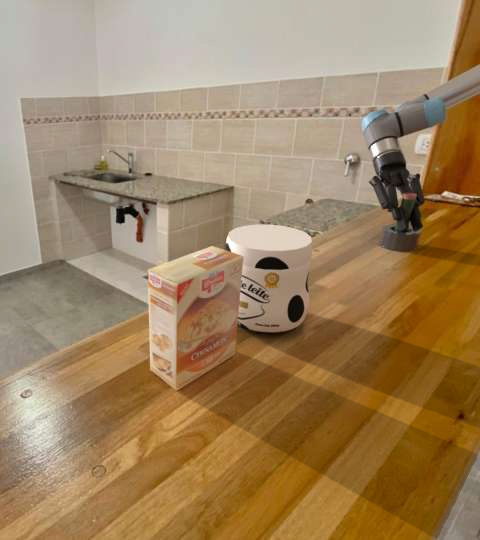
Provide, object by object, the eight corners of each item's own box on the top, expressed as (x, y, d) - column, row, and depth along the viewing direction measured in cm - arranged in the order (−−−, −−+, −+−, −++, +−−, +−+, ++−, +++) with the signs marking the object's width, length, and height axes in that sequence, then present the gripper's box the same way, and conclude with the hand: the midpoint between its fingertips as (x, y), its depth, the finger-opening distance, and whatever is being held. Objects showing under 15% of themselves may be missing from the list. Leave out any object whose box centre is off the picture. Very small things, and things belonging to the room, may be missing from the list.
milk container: (213, 335, 75) (217, 250, 68) (221, 294, 90) (225, 221, 82) (310, 347, 69) (326, 256, 62) (301, 302, 84) (313, 224, 77)
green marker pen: (405, 234, 109) (416, 193, 104) (406, 237, 107) (417, 195, 102) (392, 233, 111) (403, 192, 106) (393, 236, 108) (403, 194, 104)
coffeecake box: (177, 392, 61) (177, 283, 53) (148, 370, 66) (145, 268, 58) (237, 354, 69) (245, 255, 61) (207, 337, 74) (211, 244, 66)
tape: (414, 242, 111) (419, 226, 109) (417, 253, 104) (422, 236, 102) (378, 238, 116) (381, 223, 114) (378, 248, 109) (382, 232, 107)
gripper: (407, 164, 116) (431, 234, 107) (353, 167, 116) (373, 236, 108) (424, 148, 109) (452, 221, 100) (366, 151, 109) (389, 224, 101)
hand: (411, 229), depth 104 cm, fingers closed on green marker pen, 3 cm apart
